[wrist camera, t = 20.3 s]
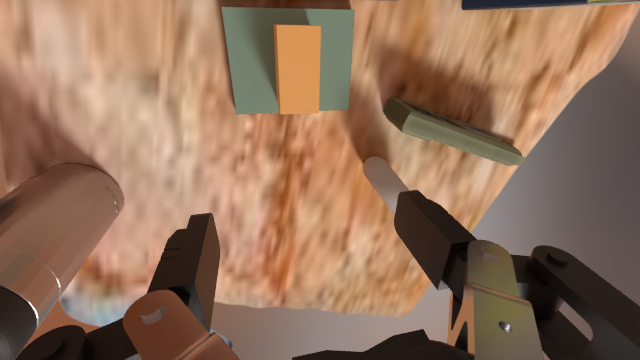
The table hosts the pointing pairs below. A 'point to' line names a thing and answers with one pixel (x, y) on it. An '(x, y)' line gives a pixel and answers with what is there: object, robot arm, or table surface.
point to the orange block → (297, 67)
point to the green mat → (259, 55)
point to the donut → (384, 180)
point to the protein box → (535, 4)
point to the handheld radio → (450, 132)
